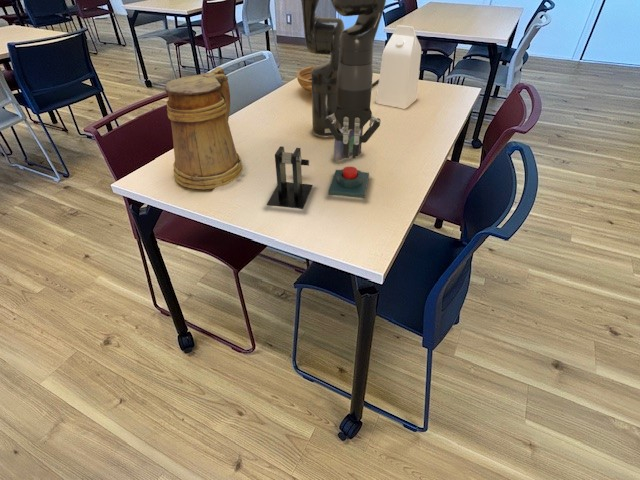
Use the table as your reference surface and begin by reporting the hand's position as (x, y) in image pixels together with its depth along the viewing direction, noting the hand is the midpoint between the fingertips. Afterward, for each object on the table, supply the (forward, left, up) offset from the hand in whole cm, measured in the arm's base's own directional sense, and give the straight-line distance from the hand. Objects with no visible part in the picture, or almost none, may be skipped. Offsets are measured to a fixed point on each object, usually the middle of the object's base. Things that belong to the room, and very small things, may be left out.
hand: (350, 156), depth 93 cm
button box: (0, 0, -9) cm, 9 cm away
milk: (-60, -31, -9) cm, 68 cm away
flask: (-12, -12, -9) cm, 19 cm away
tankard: (+20, -33, -9) cm, 40 cm away
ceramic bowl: (-47, -57, -9) cm, 74 cm away
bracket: (+14, -7, -9) cm, 18 cm away
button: (0, 0, -5) cm, 5 cm away
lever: (+11, -9, -1) cm, 14 cm away
